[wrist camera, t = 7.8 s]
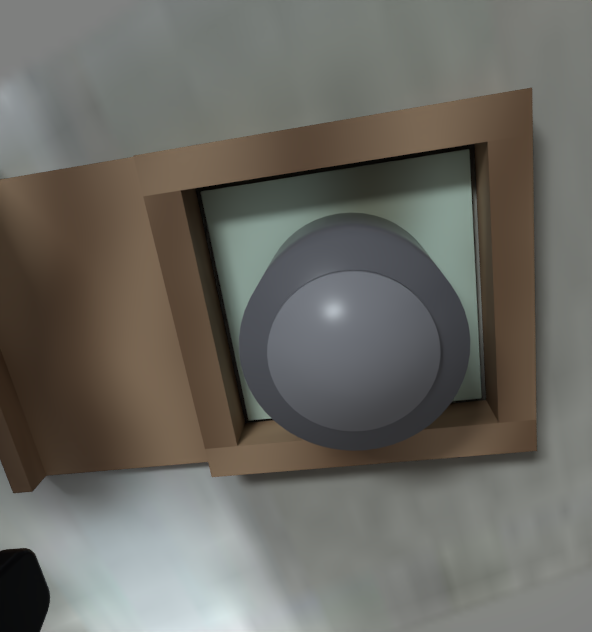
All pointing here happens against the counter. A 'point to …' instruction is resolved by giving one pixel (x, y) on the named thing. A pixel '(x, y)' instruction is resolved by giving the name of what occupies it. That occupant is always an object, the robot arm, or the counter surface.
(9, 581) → the robot arm
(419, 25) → the counter surface
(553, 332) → the counter surface
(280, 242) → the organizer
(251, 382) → the cap
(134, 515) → the counter surface
